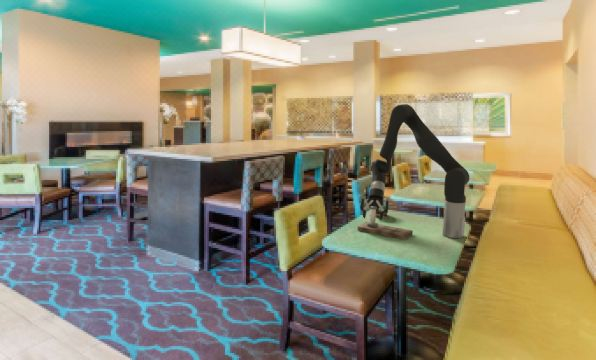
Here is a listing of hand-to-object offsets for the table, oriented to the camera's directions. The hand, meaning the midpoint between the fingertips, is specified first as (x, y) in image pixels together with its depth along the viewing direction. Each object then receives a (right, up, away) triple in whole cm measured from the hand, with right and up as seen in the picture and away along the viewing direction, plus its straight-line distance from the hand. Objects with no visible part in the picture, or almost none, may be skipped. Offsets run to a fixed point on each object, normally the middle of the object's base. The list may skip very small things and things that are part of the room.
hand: (372, 218), depth 191 cm
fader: (+1, -4, +2) cm, 4 cm away
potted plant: (+12, -2, +29) cm, 32 cm away
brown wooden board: (+6, -7, -1) cm, 9 cm away
